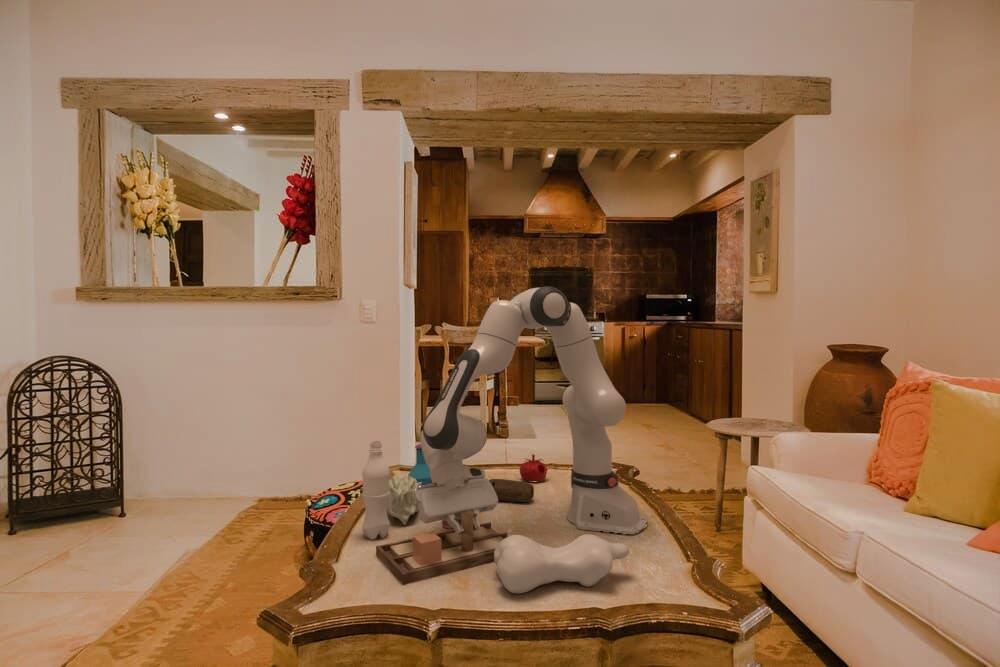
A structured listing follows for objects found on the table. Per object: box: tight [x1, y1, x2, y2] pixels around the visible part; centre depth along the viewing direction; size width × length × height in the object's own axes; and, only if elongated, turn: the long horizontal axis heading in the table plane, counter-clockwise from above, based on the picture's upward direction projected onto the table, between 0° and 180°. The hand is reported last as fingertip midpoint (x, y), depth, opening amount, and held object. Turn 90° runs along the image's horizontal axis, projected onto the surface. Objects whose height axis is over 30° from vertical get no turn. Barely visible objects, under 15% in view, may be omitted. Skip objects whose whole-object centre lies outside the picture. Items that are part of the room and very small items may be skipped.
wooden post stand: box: [404, 510, 503, 571], centre depth 131 cm, size 26×6×10 cm, turn 121°
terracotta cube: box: [412, 531, 441, 565], centre depth 127 cm, size 5×5×5 cm
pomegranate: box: [519, 454, 548, 482], centre depth 200 cm, size 10×10×9 cm
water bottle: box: [361, 440, 391, 540], centre depth 147 cm, size 7×7×25 cm
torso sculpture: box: [494, 533, 630, 595], centre depth 122 cm, size 16×11×30 cm
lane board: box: [375, 522, 509, 585], centre depth 135 cm, size 32×18×2 cm, turn 121°
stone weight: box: [488, 478, 535, 503], centre depth 177 cm, size 15×7×7 cm, turn 80°
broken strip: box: [390, 526, 494, 557], centre depth 139 cm, size 26×6×1 cm, turn 121°
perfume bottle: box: [407, 443, 433, 485], centre depth 189 cm, size 9×9×15 cm
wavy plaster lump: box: [387, 474, 422, 526], centre depth 161 cm, size 18×13×16 cm
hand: (468, 531), depth 132 cm, fingers open, 3 cm apart
